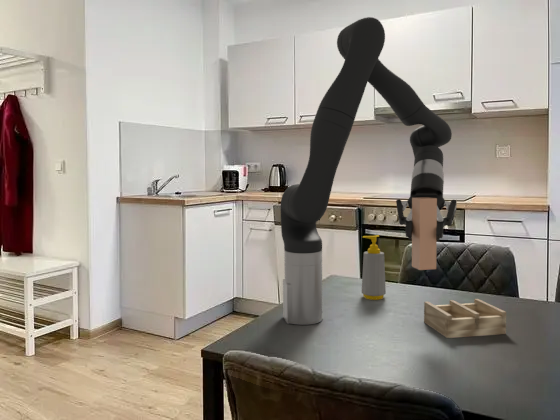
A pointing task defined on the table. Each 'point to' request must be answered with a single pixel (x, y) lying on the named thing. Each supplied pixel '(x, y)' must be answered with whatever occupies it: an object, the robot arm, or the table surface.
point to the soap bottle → (373, 272)
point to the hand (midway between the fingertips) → (423, 237)
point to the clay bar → (424, 233)
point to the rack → (465, 319)
